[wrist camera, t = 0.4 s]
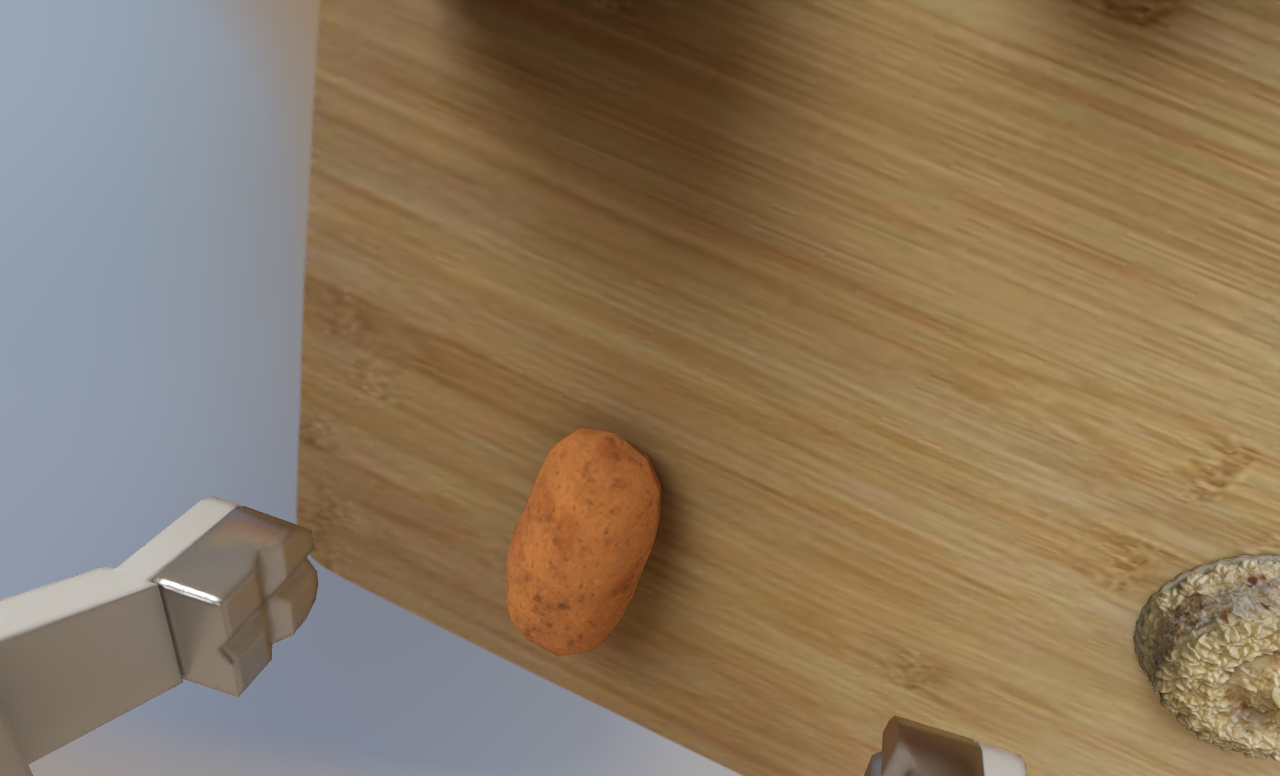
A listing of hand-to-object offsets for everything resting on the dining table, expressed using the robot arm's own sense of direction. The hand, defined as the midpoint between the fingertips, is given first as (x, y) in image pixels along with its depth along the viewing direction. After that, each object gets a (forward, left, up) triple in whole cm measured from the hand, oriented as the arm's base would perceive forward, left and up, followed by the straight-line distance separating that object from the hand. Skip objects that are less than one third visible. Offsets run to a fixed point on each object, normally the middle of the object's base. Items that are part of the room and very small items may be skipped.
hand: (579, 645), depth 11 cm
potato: (+20, -7, -27) cm, 34 cm away
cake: (+17, +25, -27) cm, 41 cm away
